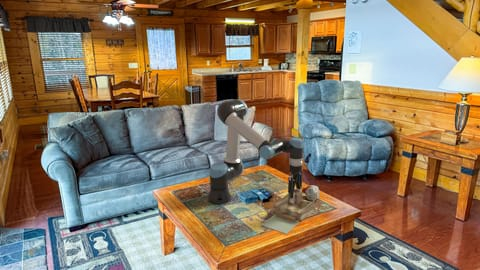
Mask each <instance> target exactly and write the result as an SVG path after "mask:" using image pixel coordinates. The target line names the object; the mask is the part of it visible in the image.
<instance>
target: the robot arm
mask: <svg viewBox="0 0 480 270" xmlns="http://www.w3.org/2000/svg"><path fill="white" fill-rule="evenodd" d="M248 108H249V107H248V106H247V104H246V102H245V101H244V100H242V99H236V98H235V99H231V100H227V101H223V102H221V103H219V105H218V107H217V109H216V114H217V117H218V119H219V121H221V123H223V124H224V125H225V126H227V135H226V136H227V137H226V153H225V157H224V158H223V162H218V163H214V164H212V165H211V166H210V168H209V172H208V173H209V185H210V186H209V187H210V189H209V191H208V195H207V201H208V202H209V204H210V203H211V204H213V205H224V204H227V203H229V202H231V200H232V195H231V192H230V191H229V189H230V188H229V182H230V181H232V180H234V179H236V178H239V177H240V176H241V175H242V174H243V172H244V169H245V168H244V166H245V165H244V164H243V161H242V158H241V157H240V145H241V144H240V143H241V137H242V138H243V139H244V140H245V141H247V142H248V143H249V144H251V145H252V147H254V148H256V150H258V151H259V155H260V157H261V158H262V159H265V160H269V159H271V158H273V157H276V156H278V155H280V154H281V153H284V154H289V162H288V164H289V165H288V170H289V171H290V176H288V177H287V181H288V183H287V185H288V186H287V194H288V193H290V203H293V204H294V202H295V193H294V190H298V191H301V190H302V189H303V162H304V160H303V153H304V140H303V138H301V137H291V138H290V139H289V140H287V139H283V138H273V139H272V140H271V141H269V140H267V139H266V138H265V137H264V136H263V135H261V134H260V133H259V132H257V130H255V129H254V128H253V127H252V126H250V125H249V124H248V123H246V122H245V120H244V118H245V116H246V115H247V114H248Z"/></svg>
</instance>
